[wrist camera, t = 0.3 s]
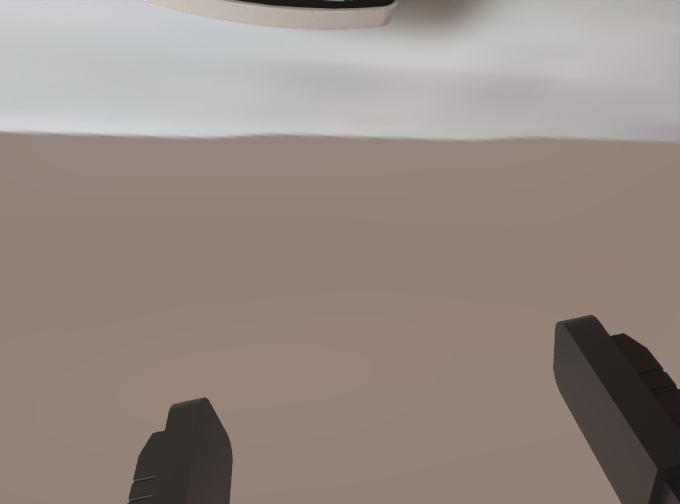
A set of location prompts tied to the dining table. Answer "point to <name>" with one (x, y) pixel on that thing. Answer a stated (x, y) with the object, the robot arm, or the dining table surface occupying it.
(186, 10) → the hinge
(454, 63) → the dining table surface
